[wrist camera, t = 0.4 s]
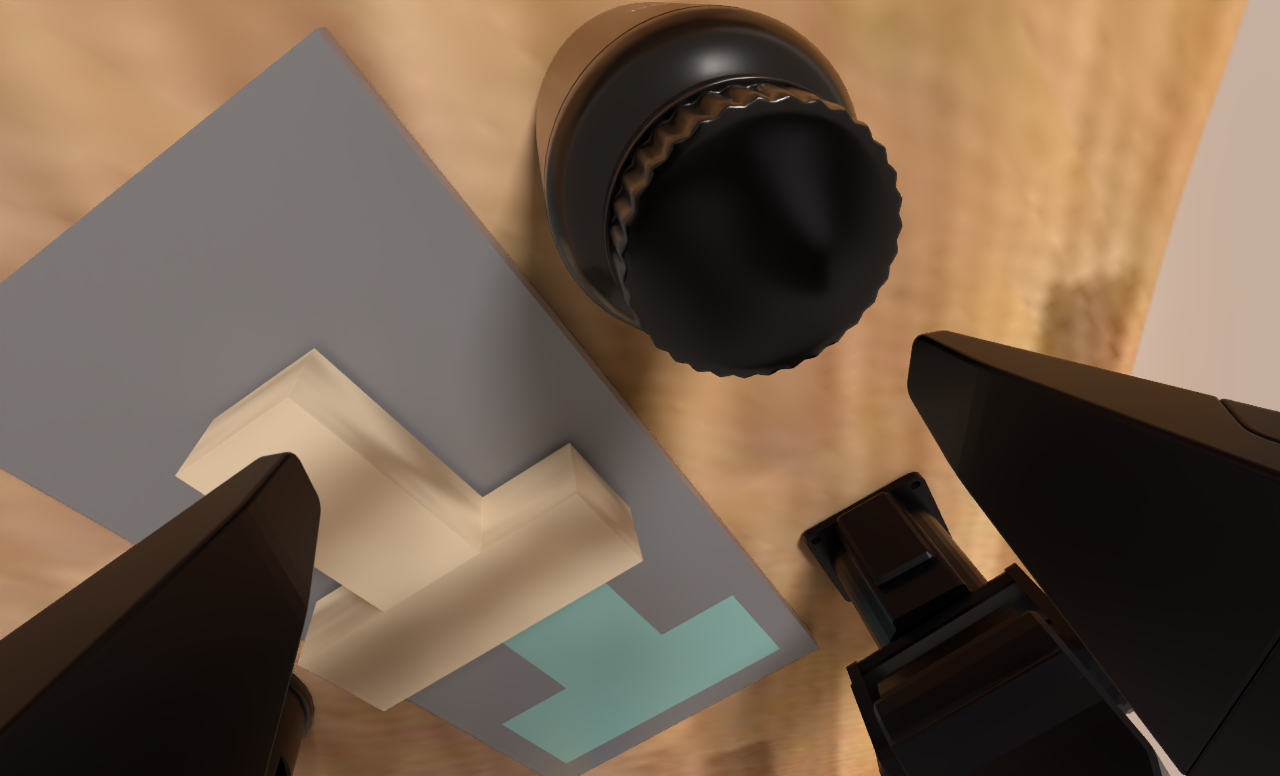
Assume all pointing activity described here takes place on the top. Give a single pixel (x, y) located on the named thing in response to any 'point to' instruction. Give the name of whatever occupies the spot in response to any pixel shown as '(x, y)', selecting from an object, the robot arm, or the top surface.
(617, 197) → the supplement bottle
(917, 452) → the top surface
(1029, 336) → the top surface
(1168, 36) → the top surface
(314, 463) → the maple T-block
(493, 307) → the board
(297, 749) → the french press
